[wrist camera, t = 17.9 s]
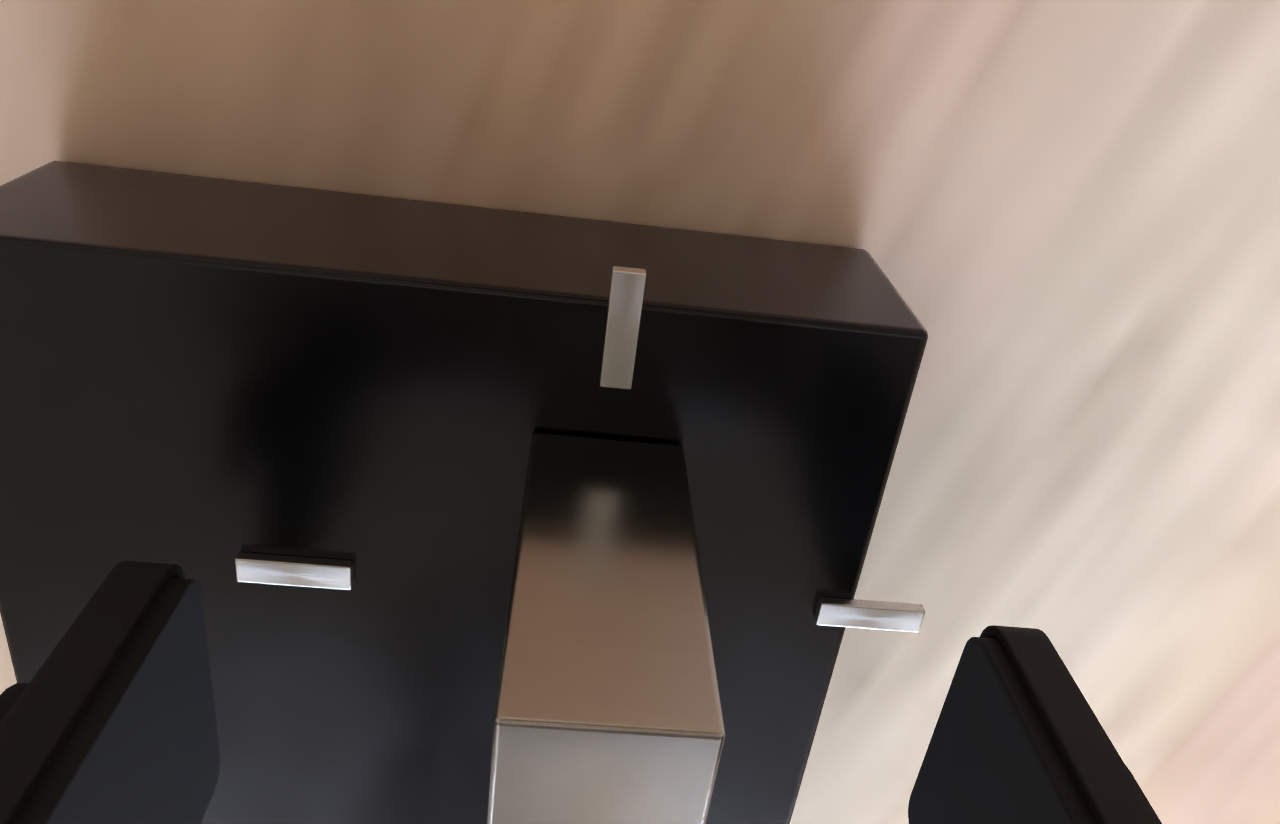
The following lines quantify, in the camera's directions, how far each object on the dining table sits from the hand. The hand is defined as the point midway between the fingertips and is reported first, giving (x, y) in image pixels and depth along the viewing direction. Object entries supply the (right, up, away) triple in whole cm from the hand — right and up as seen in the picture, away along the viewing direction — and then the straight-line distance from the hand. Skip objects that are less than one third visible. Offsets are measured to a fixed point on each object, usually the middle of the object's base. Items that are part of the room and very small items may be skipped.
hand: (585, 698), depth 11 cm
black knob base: (-3, 0, +6) cm, 6 cm away
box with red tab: (0, +1, +2) cm, 2 cm away
